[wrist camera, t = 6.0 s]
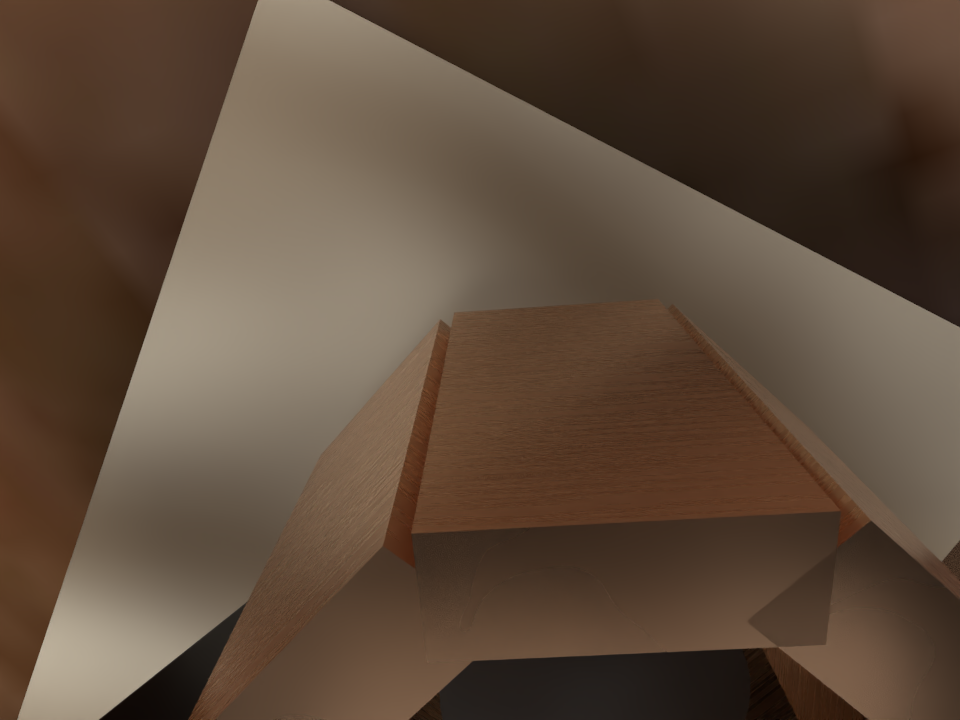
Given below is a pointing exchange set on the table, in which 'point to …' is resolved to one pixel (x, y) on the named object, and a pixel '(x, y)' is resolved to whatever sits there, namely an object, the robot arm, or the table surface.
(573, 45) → the table surface
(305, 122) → the duct base
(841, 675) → the sleeve
